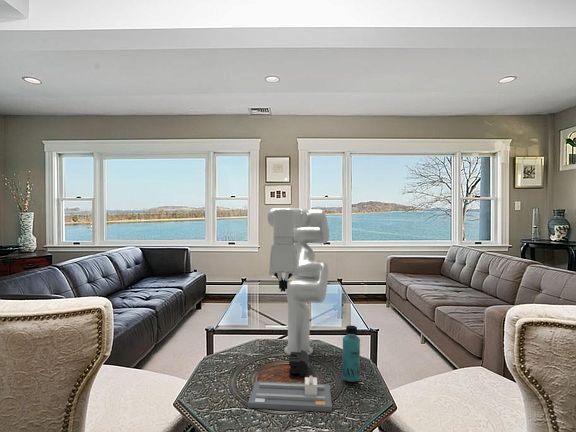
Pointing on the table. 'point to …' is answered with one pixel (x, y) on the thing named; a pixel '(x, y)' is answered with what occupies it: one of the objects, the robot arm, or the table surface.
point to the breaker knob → (310, 386)
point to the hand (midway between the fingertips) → (283, 290)
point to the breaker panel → (289, 397)
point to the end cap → (298, 364)
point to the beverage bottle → (351, 355)
